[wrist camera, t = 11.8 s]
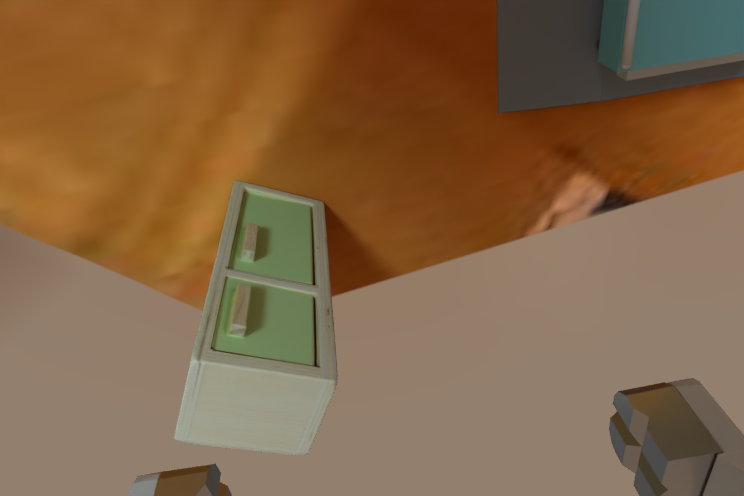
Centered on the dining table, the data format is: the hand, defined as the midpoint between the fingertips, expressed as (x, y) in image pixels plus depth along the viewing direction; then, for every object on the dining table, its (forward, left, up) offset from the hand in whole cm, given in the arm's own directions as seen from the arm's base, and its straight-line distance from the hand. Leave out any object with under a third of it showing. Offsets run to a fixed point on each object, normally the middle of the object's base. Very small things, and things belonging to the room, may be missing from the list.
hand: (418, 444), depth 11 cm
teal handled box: (0, +24, -33) cm, 41 cm away
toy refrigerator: (+13, -8, -34) cm, 38 cm away
